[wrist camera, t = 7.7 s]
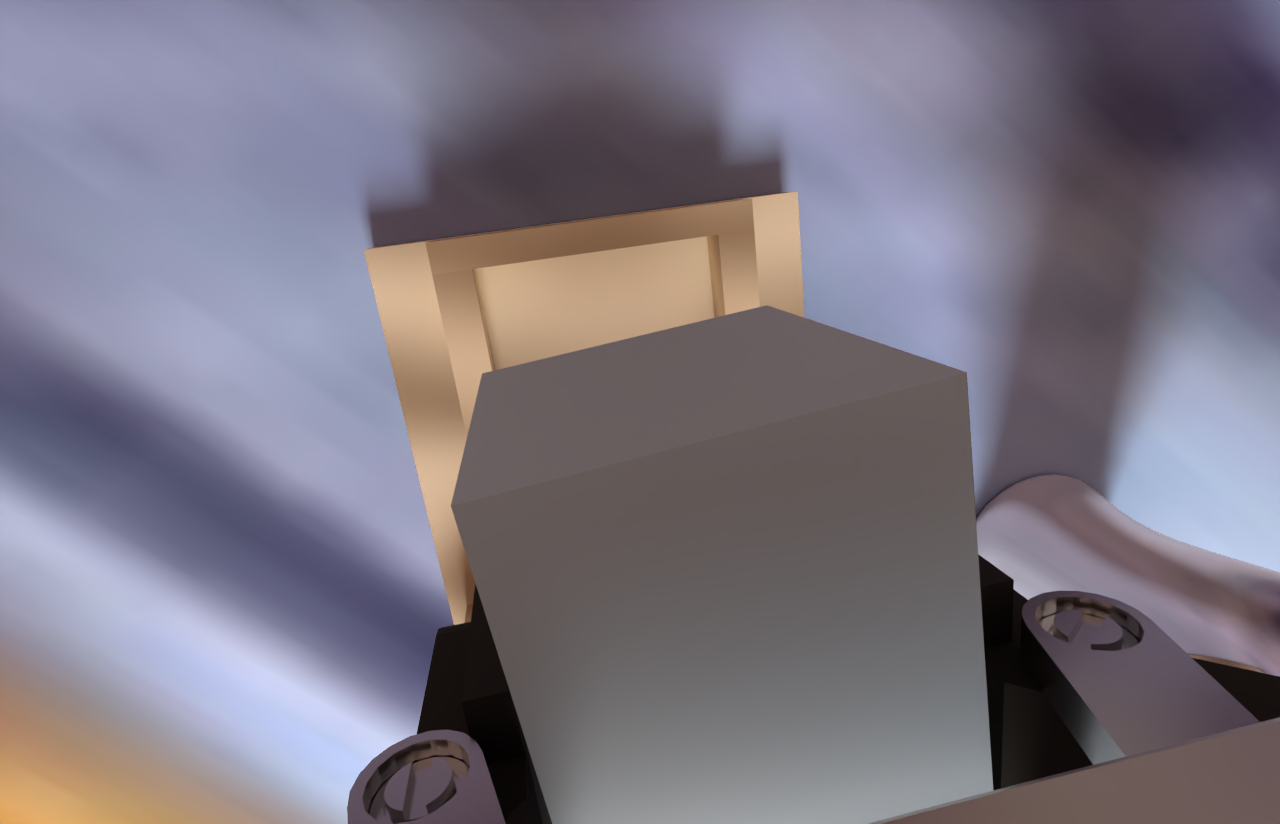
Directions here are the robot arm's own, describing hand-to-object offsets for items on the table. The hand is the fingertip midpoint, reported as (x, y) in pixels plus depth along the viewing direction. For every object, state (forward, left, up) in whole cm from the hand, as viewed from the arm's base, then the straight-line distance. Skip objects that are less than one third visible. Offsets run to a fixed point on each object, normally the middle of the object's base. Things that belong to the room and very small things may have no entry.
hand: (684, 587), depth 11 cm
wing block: (0, 0, 0) cm, 0 cm away
